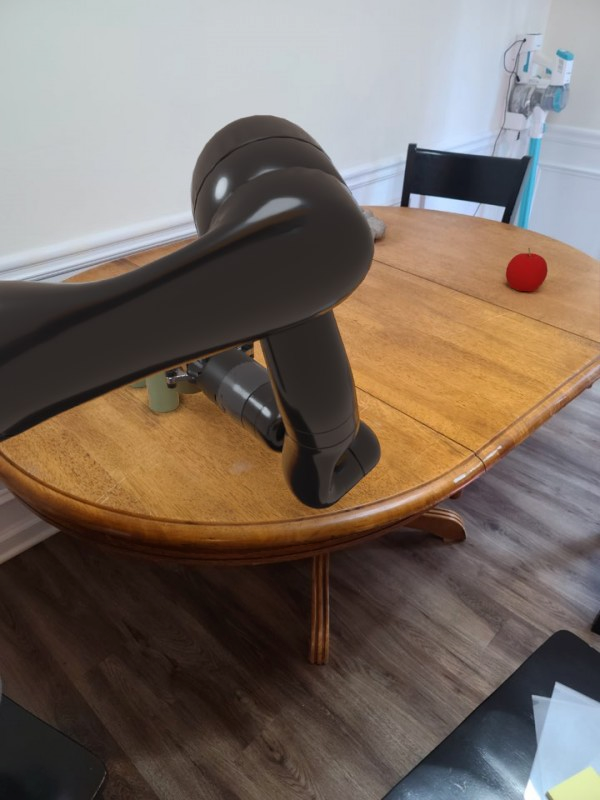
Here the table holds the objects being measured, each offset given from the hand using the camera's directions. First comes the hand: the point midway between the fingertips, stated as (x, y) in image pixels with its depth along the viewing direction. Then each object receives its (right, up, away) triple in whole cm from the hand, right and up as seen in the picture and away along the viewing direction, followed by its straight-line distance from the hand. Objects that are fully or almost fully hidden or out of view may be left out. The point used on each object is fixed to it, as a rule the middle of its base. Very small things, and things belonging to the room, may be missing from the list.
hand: (177, 335), depth 80 cm
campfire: (+32, +39, +85) cm, 99 cm away
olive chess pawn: (+1, -7, +2) cm, 7 cm away
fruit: (+72, +18, +58) cm, 94 cm away
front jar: (-6, -10, +15) cm, 19 cm away
